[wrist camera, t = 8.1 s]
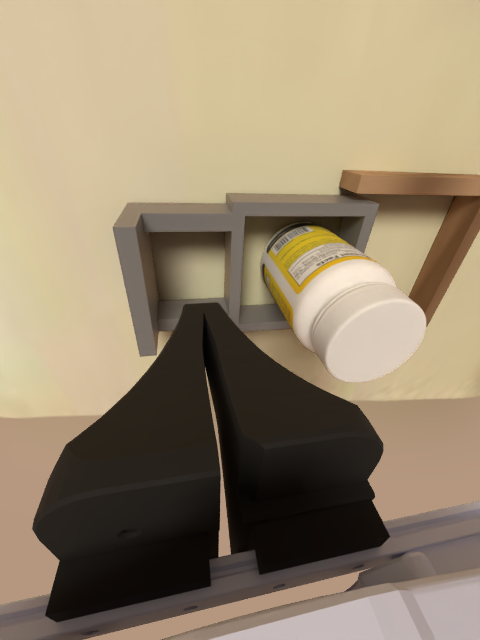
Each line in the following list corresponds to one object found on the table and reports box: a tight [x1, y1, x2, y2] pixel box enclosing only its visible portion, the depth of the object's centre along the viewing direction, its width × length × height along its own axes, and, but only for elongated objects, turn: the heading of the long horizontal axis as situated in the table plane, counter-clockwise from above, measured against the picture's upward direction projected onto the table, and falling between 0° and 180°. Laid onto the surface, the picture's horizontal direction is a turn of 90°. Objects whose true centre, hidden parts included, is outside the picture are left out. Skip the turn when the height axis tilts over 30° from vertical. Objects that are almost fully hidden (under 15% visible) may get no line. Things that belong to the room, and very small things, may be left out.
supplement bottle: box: [261, 222, 426, 383], centre depth 14 cm, size 5×5×8 cm
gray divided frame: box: [113, 193, 380, 357], centre depth 15 cm, size 12×7×4 cm, turn 87°
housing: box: [339, 170, 480, 327], centre depth 17 cm, size 8×10×2 cm
